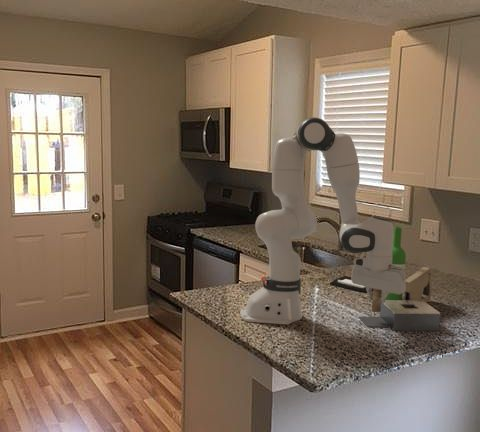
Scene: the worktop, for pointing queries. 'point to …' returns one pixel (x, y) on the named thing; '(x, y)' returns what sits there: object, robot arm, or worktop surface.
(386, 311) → the grey box with hole
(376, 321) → the mat
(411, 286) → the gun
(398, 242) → the wine bottle
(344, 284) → the light switch
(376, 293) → the tan rounded peg
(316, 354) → the worktop surface
